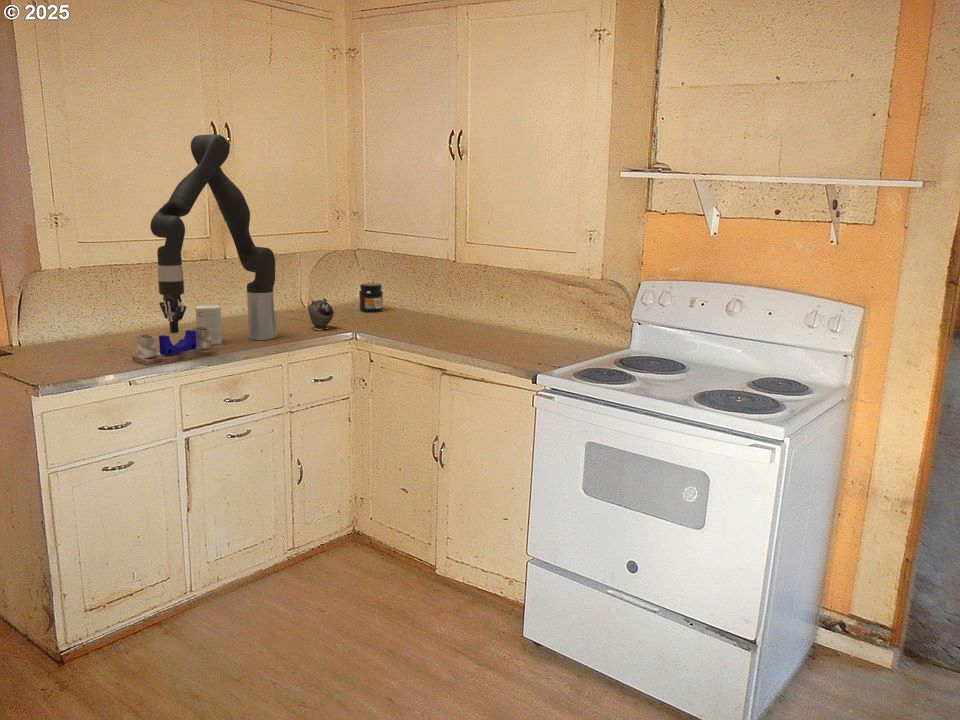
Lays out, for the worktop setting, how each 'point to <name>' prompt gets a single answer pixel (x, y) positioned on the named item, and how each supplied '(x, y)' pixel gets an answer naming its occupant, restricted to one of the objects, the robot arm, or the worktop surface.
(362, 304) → the supplement container
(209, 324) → the small box
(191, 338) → the blue curved piece
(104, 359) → the worktop surface
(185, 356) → the rail board
